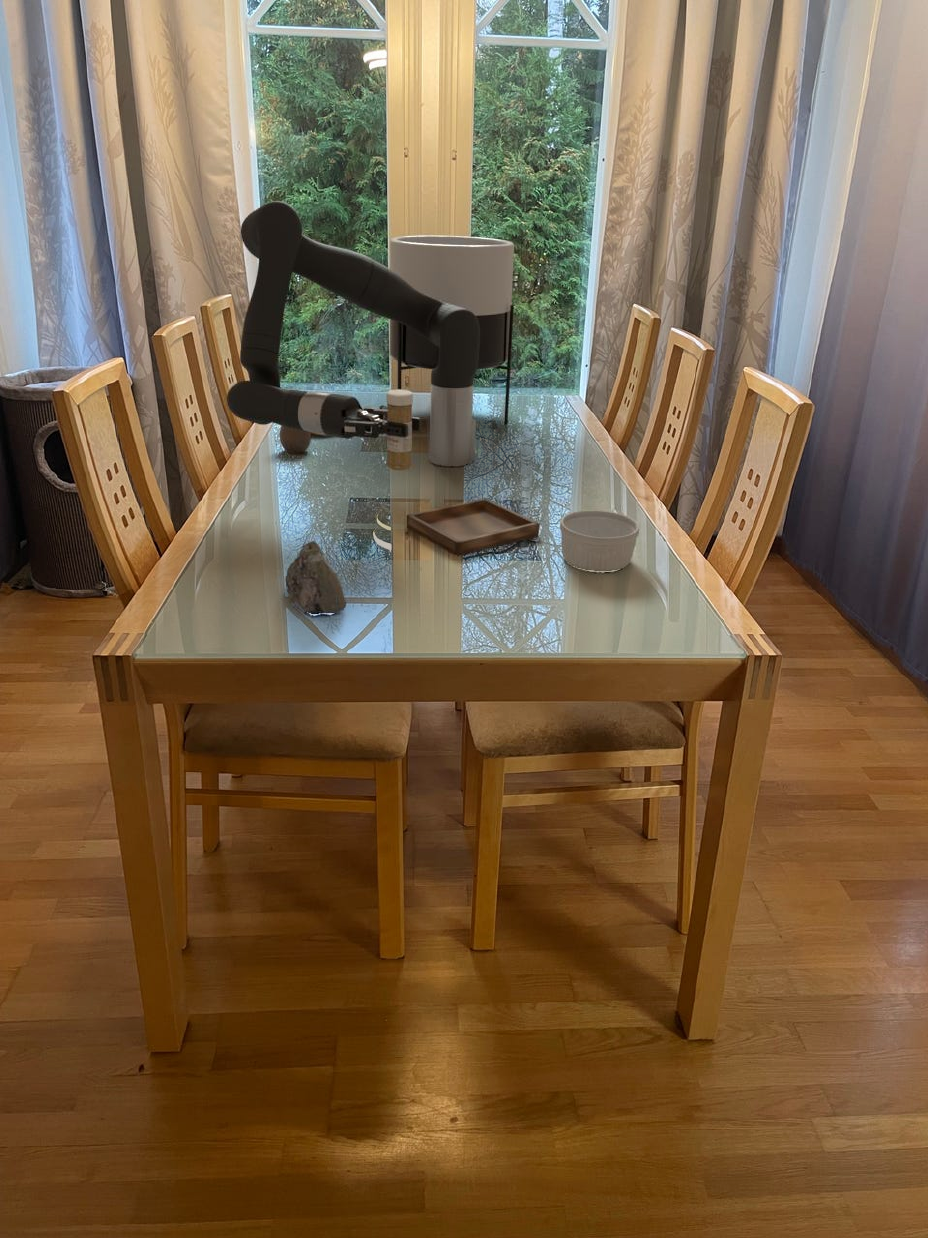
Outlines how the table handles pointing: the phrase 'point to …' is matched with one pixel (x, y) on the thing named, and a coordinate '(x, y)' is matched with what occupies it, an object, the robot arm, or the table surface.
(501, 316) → the planter
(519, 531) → the walnut tray
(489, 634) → the table surface
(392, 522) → the table surface
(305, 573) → the mineral rock
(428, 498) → the table surface
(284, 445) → the vase
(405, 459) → the sprinkles bottle
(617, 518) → the ramekin
